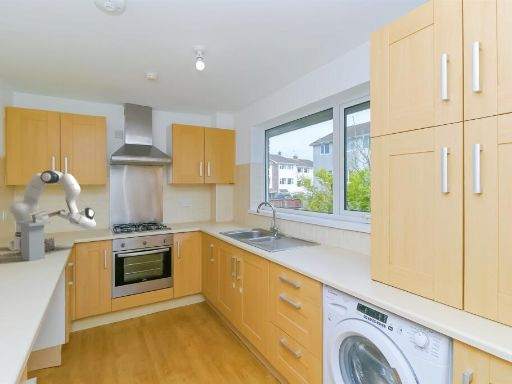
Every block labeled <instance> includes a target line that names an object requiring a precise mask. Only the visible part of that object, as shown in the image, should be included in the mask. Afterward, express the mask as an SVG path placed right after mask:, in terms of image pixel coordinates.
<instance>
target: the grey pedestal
mask: <svg viewBox="0 0 512 384" xmlns="http://www.w3.org/2000/svg"><path fill="white" fill-rule="evenodd" d="M17 225H21V255H20V257H21V260H24V261H27V262H28V261H29V262H32V261H36V260H42V259H45V256H46V255H45V252H46V251H45V245H44V238H45V226H46V225H50V221H47V220H43V222H39V223H34V222H33V219H32V220H30V221H20V222H17Z"/></svg>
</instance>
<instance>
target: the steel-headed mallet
mask: <svg viewBox="0 0 512 384" xmlns="http://www.w3.org/2000/svg"><path fill="white" fill-rule="evenodd" d="M60 211H63V212H66V210H65V209H60V210H56V211H54V212H51V213H48V211H46V210H43V211H39V212H34V213H30V217H31V219H32V220H33V217H35V216H42V219H43V221H45V220H47V219H49V218H52V217H55V216H58V215H59V214H61V213H59V212H60Z"/></svg>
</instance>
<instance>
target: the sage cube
mask: <svg viewBox="0 0 512 384" xmlns="http://www.w3.org/2000/svg"><path fill="white" fill-rule="evenodd" d="M32 220H33V222H34V223H39V222H43V221H44V220H43V219H42V216H35V217H33V219H32Z"/></svg>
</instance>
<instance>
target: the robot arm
mask: <svg viewBox="0 0 512 384" xmlns="http://www.w3.org/2000/svg"><path fill="white" fill-rule="evenodd" d="M47 185H61V187H62V189H63V190H64V194H65V198H64V199H65V203H66V205H67V208H68V210H69V212H66V211H65V212H63V211H60V210H59V211H60V212H59V213H61V214H59V215H57V217H60V218H62V219H64V220H68V221H69V223H70V224H72V225H74V226H77V227H80V228H81V229H84V230H88V231H90V230H93V229H94V228H95V227H97V222H96V220H95V211H94V209H92V208H90V207H84V208H83V209H81V210H79V209H78V206H77V204H76V200H77V198H78V197H79V196H80V194H81V191H82V190H81V187H80V185H79V183H78V181H77V179H76V178H75V177H74V176H73V175H72V174H71V173H64V172H62V171H59V170H49V169H48V170H44V171H42V173H40V172H38V173H35V174H34V175H33V176H32V177H31V179H30V180H29V181H28V184H27V186H26V187H25V189H24V190H23V195H24V196H23V199H22V200H17V201H14V202H12V203H11V204H10V205H9V207H8V210H9V213H11V214H12V216H13V218H14V220H15V233H14V237H13V239H11V241H10V242H9V246H7V249H8V250H9V251H11V252H12V251H20V247H19V243H20V241H19V239H20V238H21V225H17V222H20V221H30V220H33V219H32V216H31V214H34V213H36V211H38V210H39V208H40V205H39V202H40V197H41V196H42V194H43V192H44V189H45V187H46V186H47Z"/></svg>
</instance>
